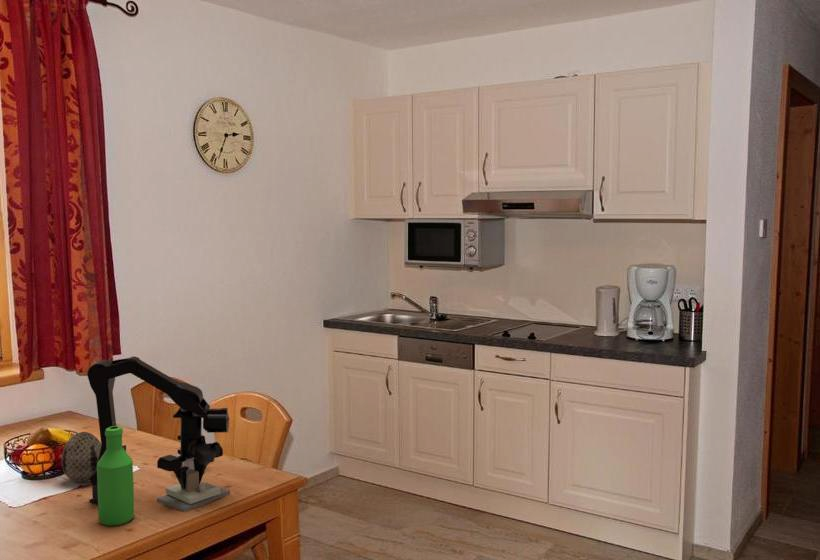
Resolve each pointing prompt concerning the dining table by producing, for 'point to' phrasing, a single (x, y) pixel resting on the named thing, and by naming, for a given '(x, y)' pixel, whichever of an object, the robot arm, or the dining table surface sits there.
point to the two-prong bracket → (192, 489)
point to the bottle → (115, 481)
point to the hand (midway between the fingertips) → (191, 486)
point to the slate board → (185, 506)
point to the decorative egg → (81, 457)
